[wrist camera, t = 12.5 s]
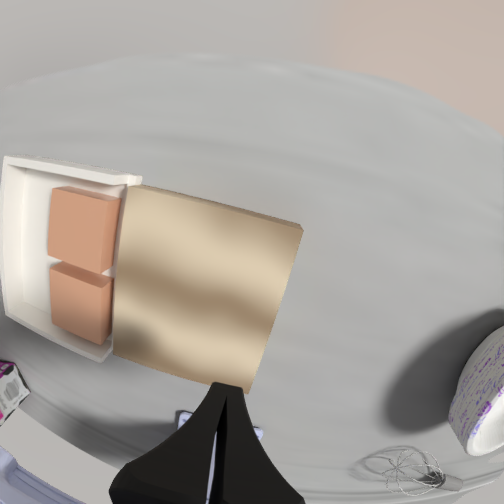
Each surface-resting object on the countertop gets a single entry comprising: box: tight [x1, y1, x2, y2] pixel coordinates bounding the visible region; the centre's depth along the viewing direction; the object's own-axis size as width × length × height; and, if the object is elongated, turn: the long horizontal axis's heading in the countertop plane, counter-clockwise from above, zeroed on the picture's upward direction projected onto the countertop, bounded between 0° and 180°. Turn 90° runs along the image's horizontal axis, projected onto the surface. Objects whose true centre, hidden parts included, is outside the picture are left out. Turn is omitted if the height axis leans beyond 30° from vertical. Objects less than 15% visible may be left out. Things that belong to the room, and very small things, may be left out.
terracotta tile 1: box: [49, 261, 114, 345], centre depth 20 cm, size 5×5×2 cm
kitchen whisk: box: [382, 450, 463, 496], centre depth 25 cm, size 6×34×6 cm, turn 47°
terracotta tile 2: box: [48, 186, 122, 274], centre depth 18 cm, size 5×5×2 cm
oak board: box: [113, 184, 304, 394], centre depth 19 cm, size 13×11×2 cm
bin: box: [0, 155, 143, 364], centre depth 19 cm, size 14×12×3 cm
